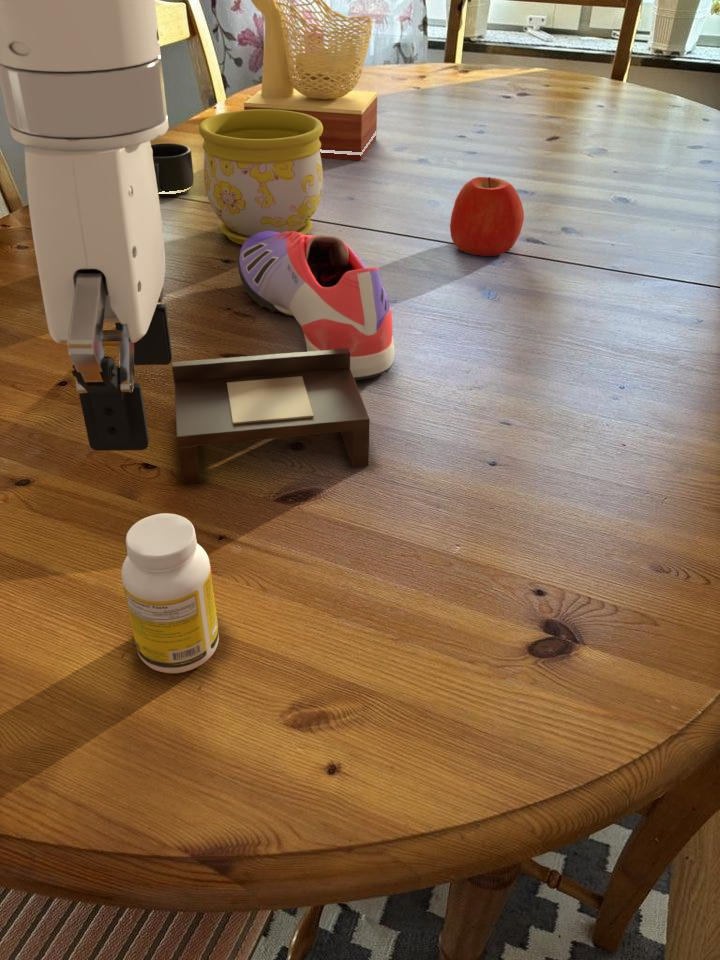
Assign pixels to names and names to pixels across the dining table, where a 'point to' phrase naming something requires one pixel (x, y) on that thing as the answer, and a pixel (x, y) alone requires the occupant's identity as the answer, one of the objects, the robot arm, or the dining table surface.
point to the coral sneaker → (322, 295)
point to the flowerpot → (262, 170)
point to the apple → (486, 217)
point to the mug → (172, 168)
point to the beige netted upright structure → (318, 75)
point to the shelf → (267, 402)
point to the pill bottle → (169, 594)
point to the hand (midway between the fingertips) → (135, 402)
